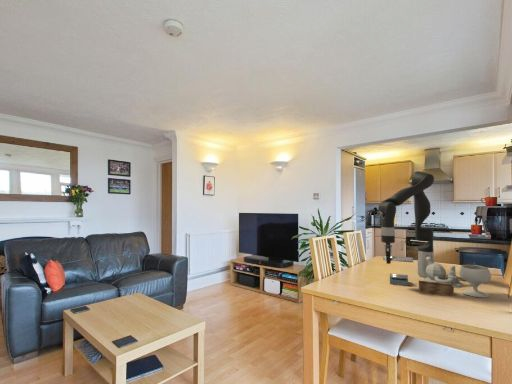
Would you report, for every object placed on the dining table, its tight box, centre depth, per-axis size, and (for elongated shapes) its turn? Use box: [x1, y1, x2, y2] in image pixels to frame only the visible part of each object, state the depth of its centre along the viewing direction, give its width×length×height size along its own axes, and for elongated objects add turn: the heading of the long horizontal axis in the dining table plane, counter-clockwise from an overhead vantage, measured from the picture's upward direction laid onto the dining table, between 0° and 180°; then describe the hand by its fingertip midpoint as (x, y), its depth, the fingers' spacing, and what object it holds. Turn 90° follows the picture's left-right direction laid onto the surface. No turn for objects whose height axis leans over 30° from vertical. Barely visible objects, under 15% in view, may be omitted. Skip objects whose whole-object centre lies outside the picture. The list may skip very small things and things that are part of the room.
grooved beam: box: [418, 280, 455, 297], centre depth 156 cm, size 16×7×5 cm, turn 62°
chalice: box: [458, 264, 492, 298], centre depth 152 cm, size 14×14×15 cm
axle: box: [382, 255, 414, 263], centre depth 165 cm, size 16×3×3 cm, turn 62°
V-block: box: [389, 273, 409, 287], centre depth 174 cm, size 10×10×5 cm
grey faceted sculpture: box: [422, 257, 464, 289], centre depth 174 cm, size 20×15×15 cm
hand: (388, 262), depth 167 cm, fingers closed on axle, 2 cm apart
